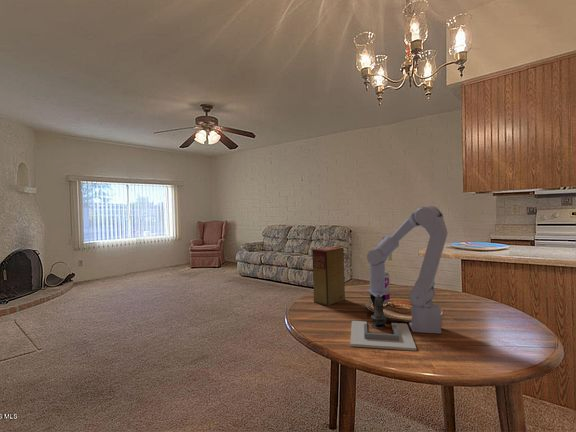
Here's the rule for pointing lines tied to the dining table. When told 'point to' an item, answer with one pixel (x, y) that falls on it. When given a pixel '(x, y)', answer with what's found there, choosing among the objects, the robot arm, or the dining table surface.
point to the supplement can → (386, 288)
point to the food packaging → (328, 275)
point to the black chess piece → (379, 314)
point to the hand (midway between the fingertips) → (377, 313)
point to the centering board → (382, 337)
